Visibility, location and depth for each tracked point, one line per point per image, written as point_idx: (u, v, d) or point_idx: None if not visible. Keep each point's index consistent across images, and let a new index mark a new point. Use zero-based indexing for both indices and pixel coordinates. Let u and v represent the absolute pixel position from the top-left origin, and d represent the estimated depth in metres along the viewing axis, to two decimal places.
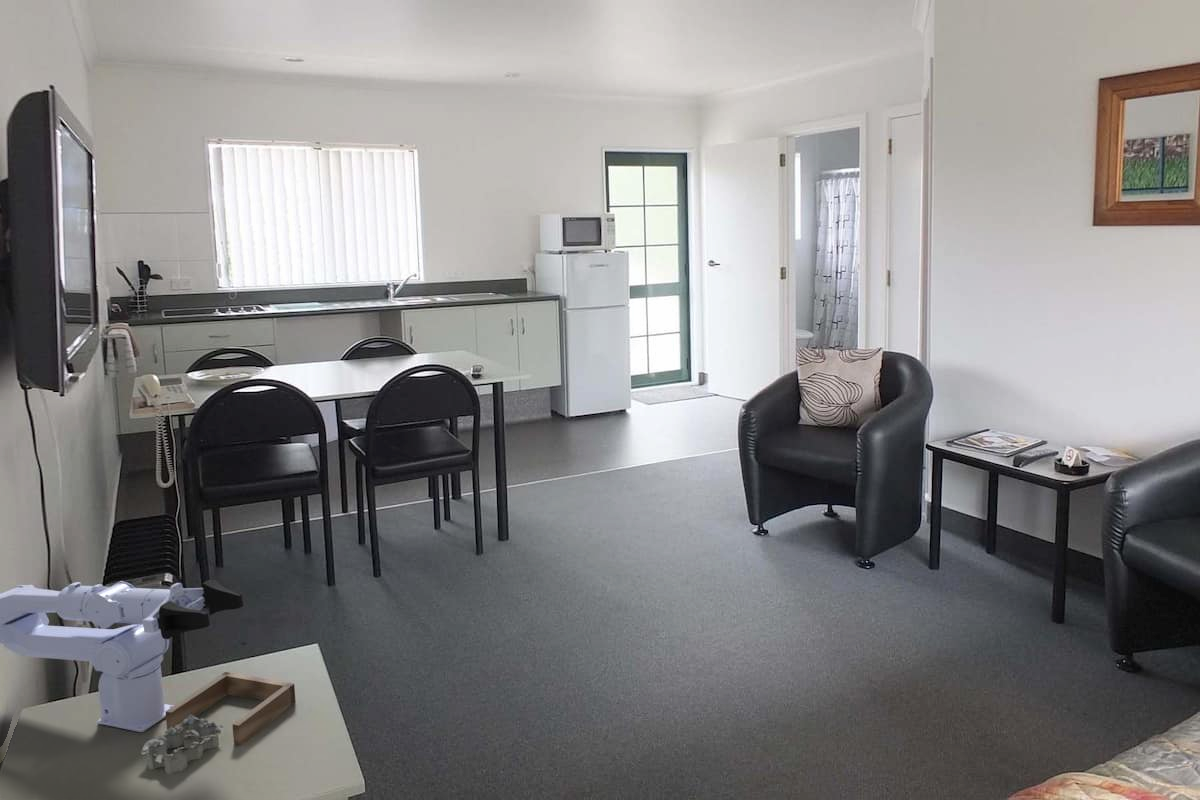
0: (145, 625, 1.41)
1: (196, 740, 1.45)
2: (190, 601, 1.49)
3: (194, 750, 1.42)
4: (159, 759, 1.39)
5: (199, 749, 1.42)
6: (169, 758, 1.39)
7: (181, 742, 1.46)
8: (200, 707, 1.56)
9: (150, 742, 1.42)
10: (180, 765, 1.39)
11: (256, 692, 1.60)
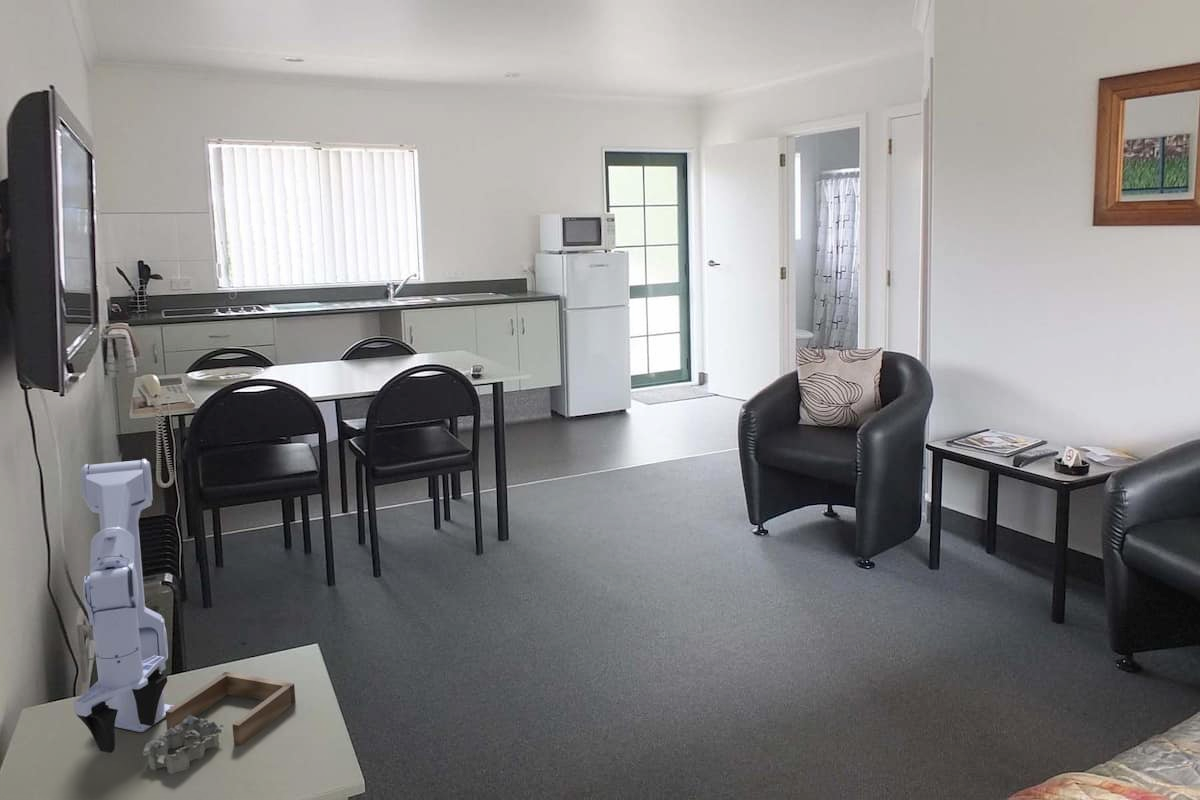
0: (80, 706, 1.25)
1: (197, 740, 1.45)
2: None
3: (196, 750, 1.42)
4: (161, 760, 1.39)
5: (201, 749, 1.43)
6: (171, 758, 1.39)
7: (181, 742, 1.46)
8: (200, 707, 1.56)
9: (151, 743, 1.42)
10: (183, 765, 1.39)
11: (256, 692, 1.60)
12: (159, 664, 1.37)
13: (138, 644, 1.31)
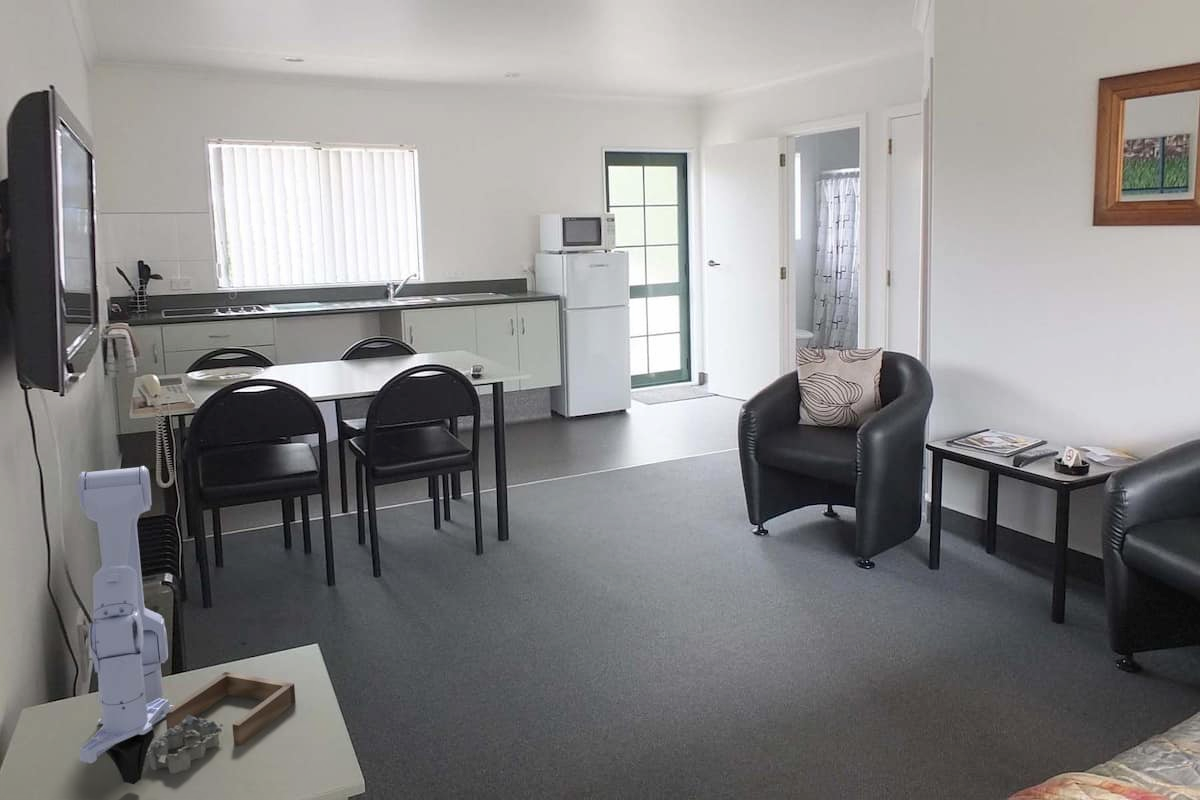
0: (85, 753, 1.26)
1: (197, 739, 1.45)
2: None
3: (197, 750, 1.42)
4: (162, 759, 1.39)
5: (202, 748, 1.43)
6: (173, 758, 1.39)
7: (181, 742, 1.46)
8: (200, 707, 1.56)
9: (151, 743, 1.42)
10: (184, 764, 1.39)
11: (256, 692, 1.60)
12: (163, 707, 1.38)
13: (143, 689, 1.32)
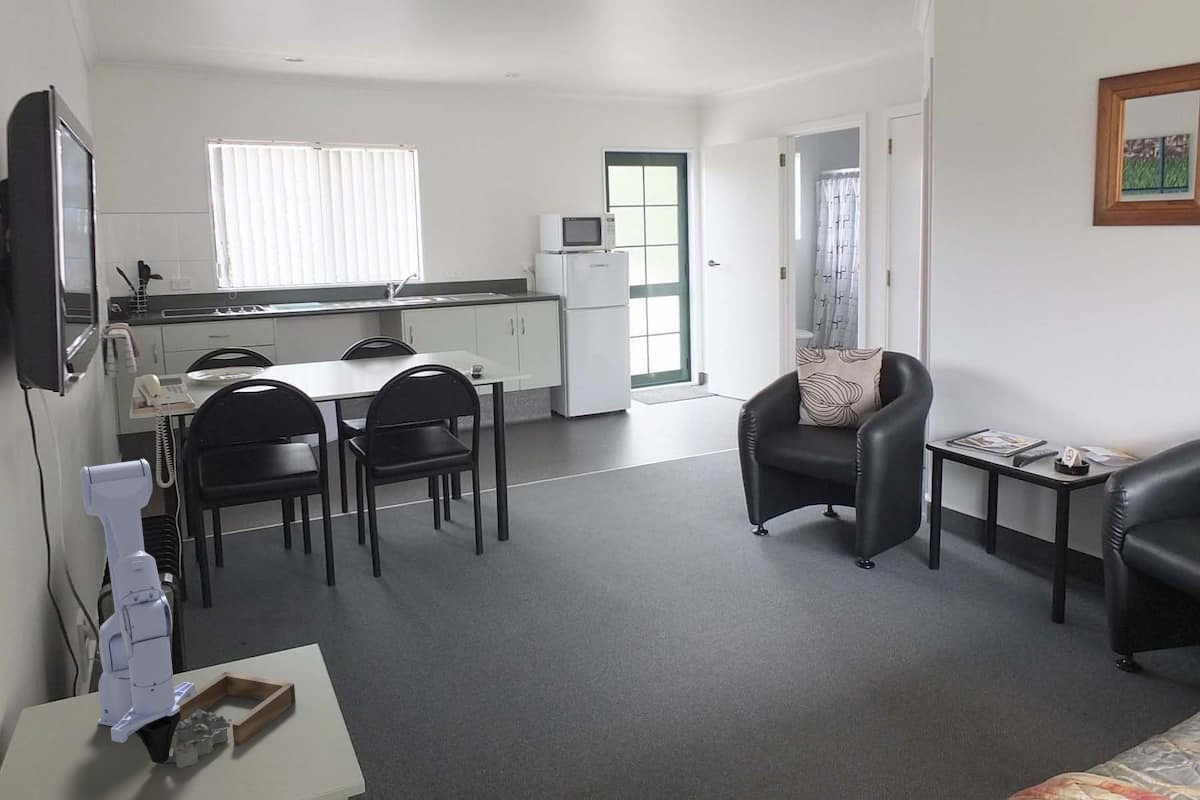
0: (116, 733, 1.31)
1: (205, 734, 1.46)
2: None
3: (205, 744, 1.44)
4: (170, 753, 1.40)
5: (209, 742, 1.44)
6: (180, 751, 1.40)
7: (190, 736, 1.48)
8: (200, 707, 1.56)
9: None
10: (191, 758, 1.41)
11: (256, 692, 1.60)
12: (189, 690, 1.43)
13: (171, 671, 1.38)
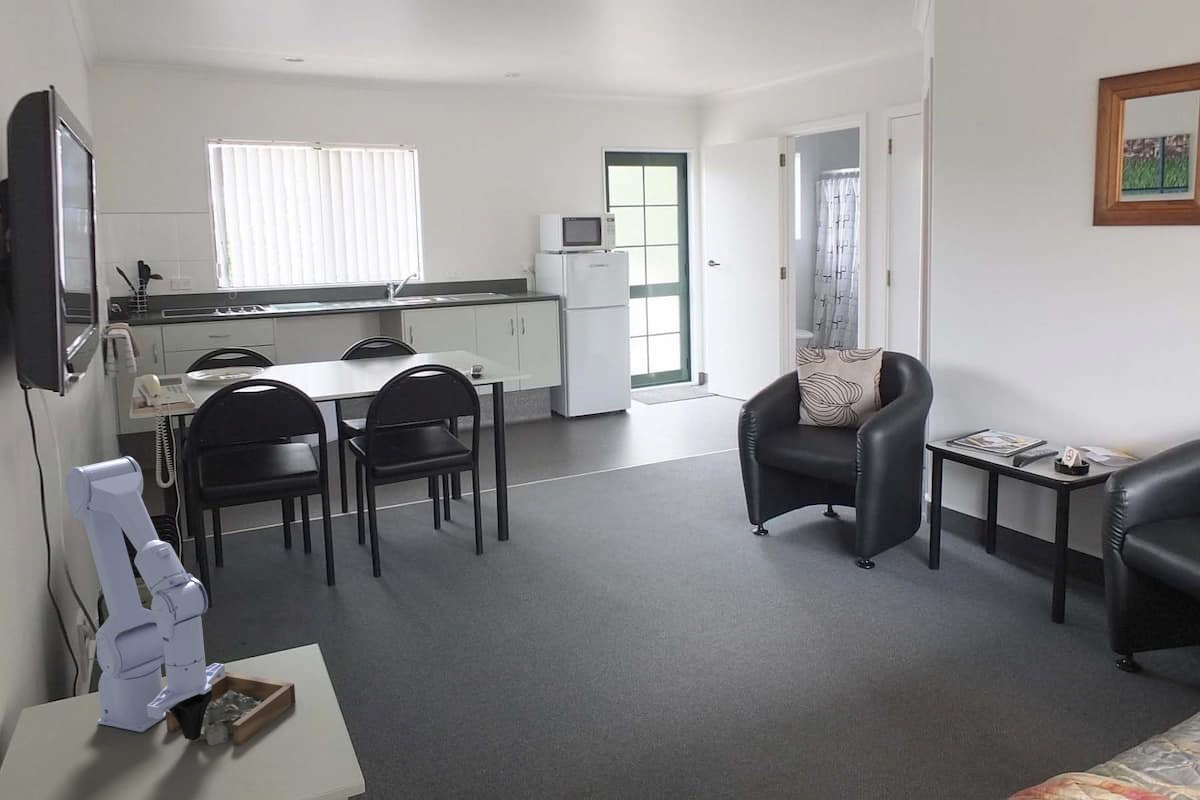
0: (153, 709, 1.37)
1: (236, 714, 1.52)
2: None
3: None
4: (202, 731, 1.47)
5: None
6: (211, 730, 1.46)
7: (221, 716, 1.54)
8: None
9: None
10: (221, 736, 1.47)
11: (256, 692, 1.60)
12: (220, 671, 1.50)
13: None
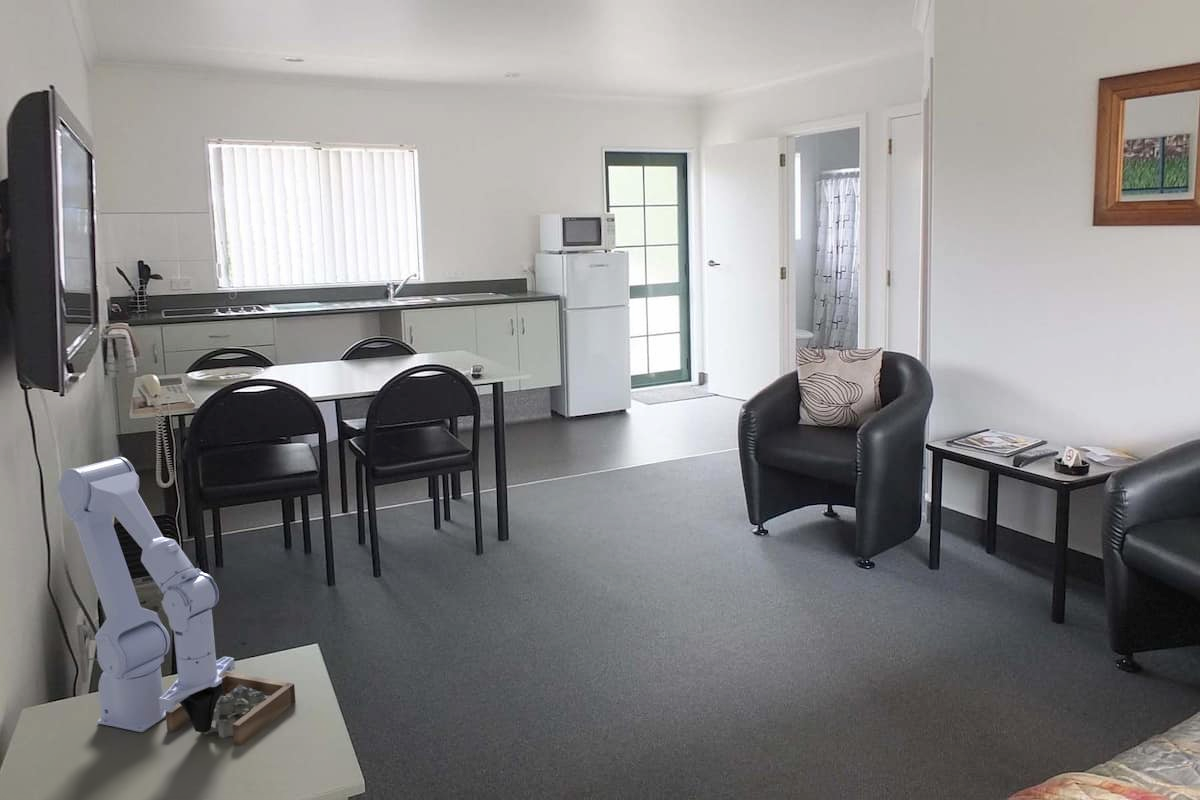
0: (164, 702, 1.40)
1: (246, 708, 1.55)
2: None
3: None
4: (213, 724, 1.49)
5: None
6: (223, 723, 1.48)
7: (231, 710, 1.56)
8: None
9: None
10: None
11: None
12: (229, 664, 1.52)
13: None
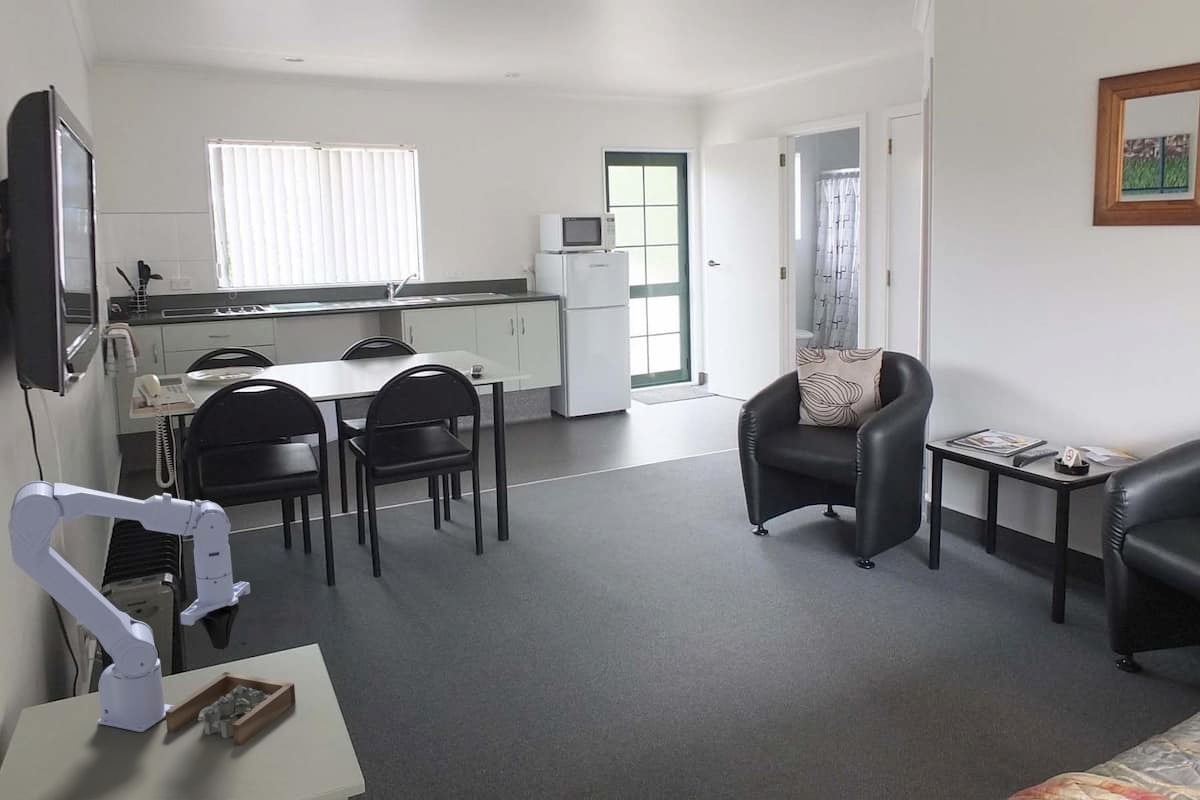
0: (185, 617, 1.51)
1: (247, 707, 1.55)
2: None
3: None
4: (215, 724, 1.49)
5: None
6: (225, 723, 1.48)
7: (232, 710, 1.56)
8: (200, 707, 1.56)
9: (205, 710, 1.52)
10: None
11: None
12: (245, 588, 1.63)
13: None
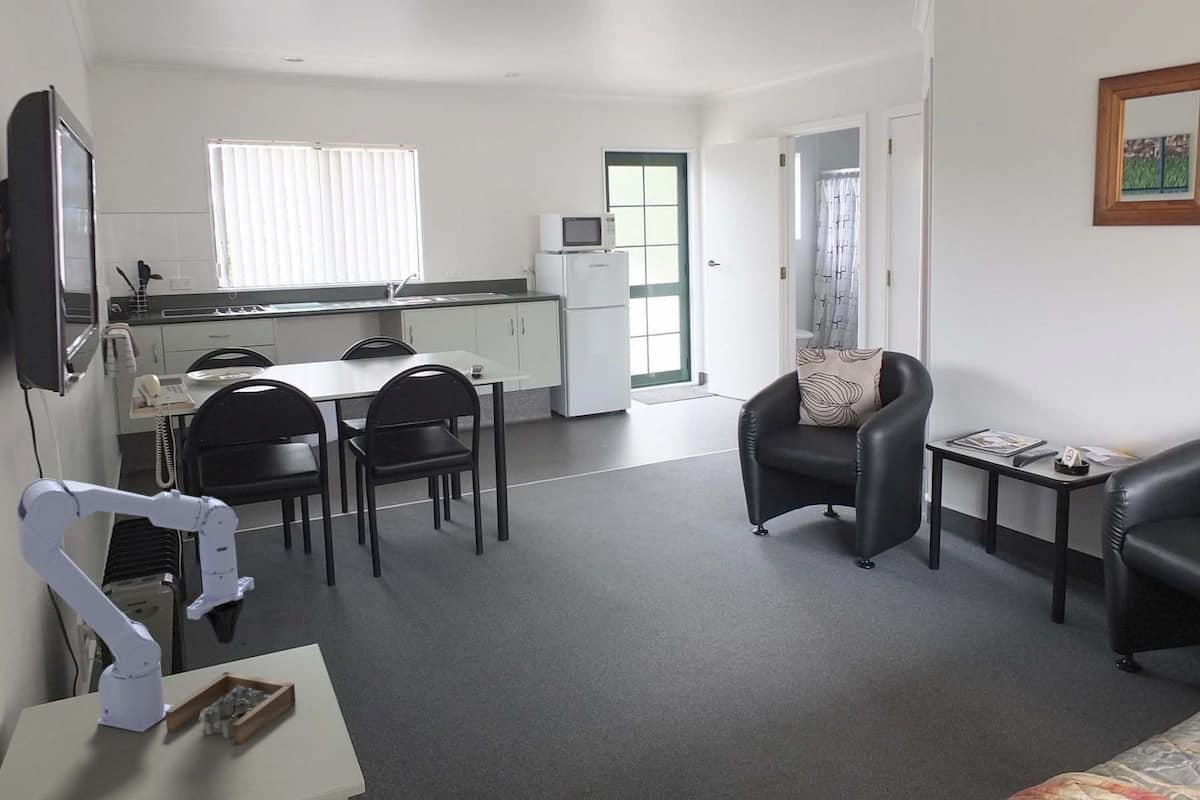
0: (192, 611, 1.53)
1: (247, 707, 1.55)
2: None
3: None
4: (217, 725, 1.49)
5: None
6: (227, 723, 1.48)
7: (232, 710, 1.56)
8: (200, 707, 1.56)
9: (205, 710, 1.51)
10: None
11: None
12: (249, 583, 1.65)
13: None
